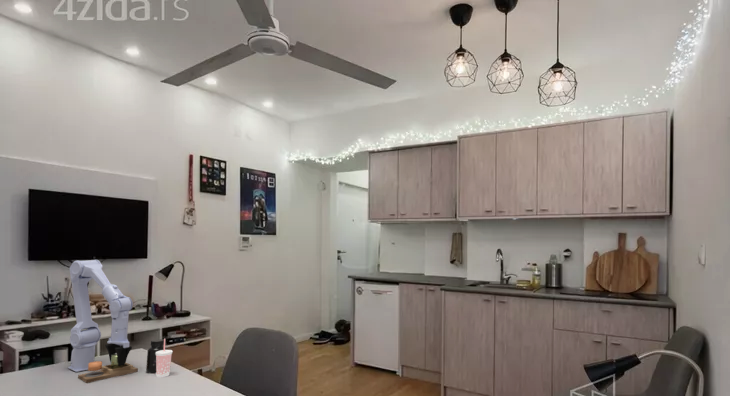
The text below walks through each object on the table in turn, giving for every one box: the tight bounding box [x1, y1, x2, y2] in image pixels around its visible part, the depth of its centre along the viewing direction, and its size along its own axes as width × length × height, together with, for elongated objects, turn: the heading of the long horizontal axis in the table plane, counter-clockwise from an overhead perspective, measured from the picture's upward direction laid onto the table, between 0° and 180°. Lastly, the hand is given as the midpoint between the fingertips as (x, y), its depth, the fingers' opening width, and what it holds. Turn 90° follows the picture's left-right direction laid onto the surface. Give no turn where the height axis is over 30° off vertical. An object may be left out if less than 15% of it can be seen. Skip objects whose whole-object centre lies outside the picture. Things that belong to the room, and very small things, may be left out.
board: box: [77, 361, 139, 384], centre depth 166 cm, size 9×18×3 cm, turn 142°
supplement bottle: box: [145, 338, 167, 374], centre depth 172 cm, size 7×7×12 cm
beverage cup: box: [155, 338, 174, 378], centre depth 166 cm, size 6×6×14 cm
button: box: [87, 360, 103, 372], centre depth 162 cm, size 4×4×2 cm
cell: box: [110, 353, 122, 369], centre depth 168 cm, size 4×4×7 cm
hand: (117, 363), depth 168 cm, fingers open, 7 cm apart
